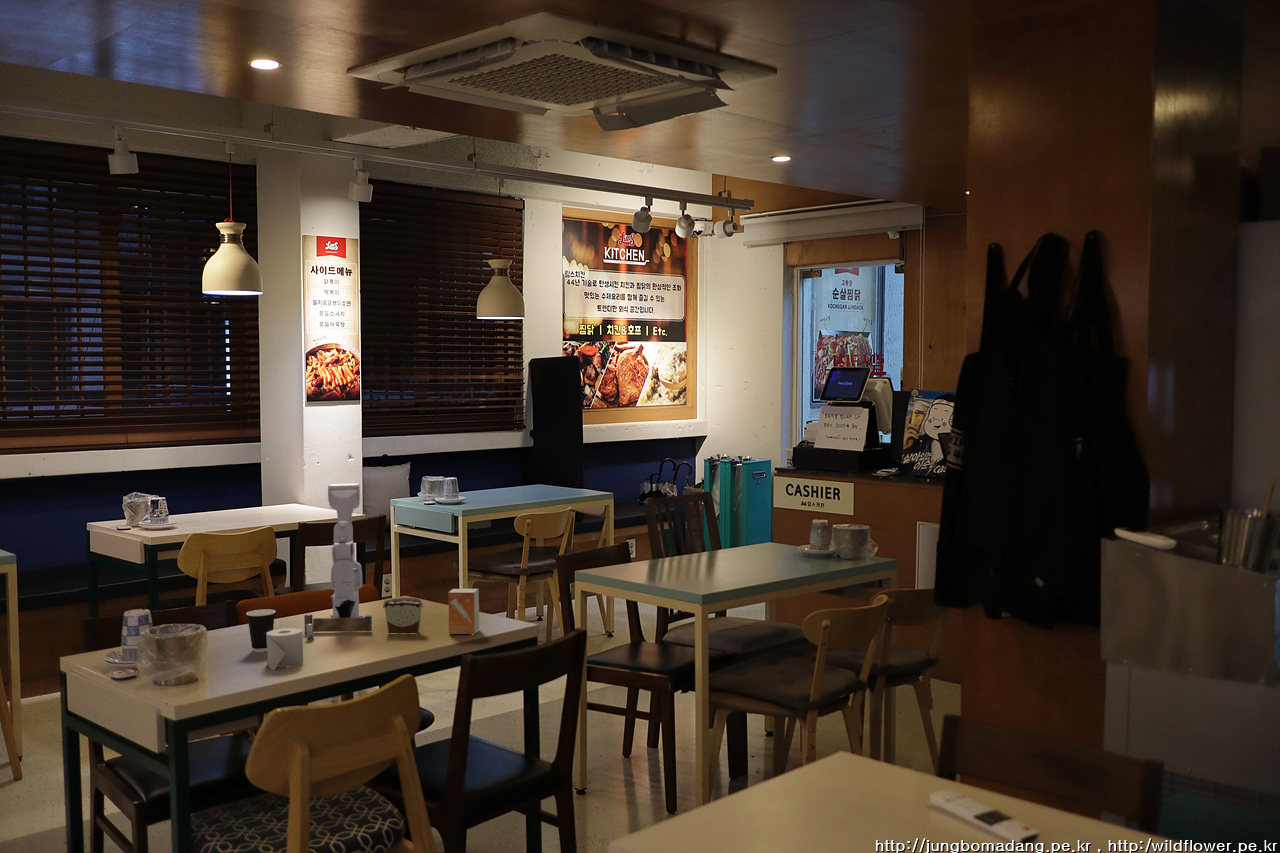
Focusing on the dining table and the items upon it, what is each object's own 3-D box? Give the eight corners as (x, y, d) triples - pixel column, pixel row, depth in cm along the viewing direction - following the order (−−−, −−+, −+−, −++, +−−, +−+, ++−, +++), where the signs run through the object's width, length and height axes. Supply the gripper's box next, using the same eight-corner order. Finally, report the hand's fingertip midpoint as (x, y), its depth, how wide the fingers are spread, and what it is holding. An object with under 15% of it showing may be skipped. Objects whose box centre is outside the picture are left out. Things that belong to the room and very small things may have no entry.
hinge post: (303, 632, 333) (303, 615, 333) (311, 631, 335) (310, 614, 334) (306, 634, 331) (305, 616, 331) (314, 633, 333) (313, 615, 333)
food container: (429, 629, 335) (428, 597, 335) (423, 634, 329) (422, 601, 328) (390, 629, 336) (389, 597, 336) (383, 634, 330) (382, 601, 330)
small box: (448, 635, 327) (447, 592, 326) (453, 630, 333) (452, 588, 332) (475, 635, 326) (474, 592, 326) (479, 630, 332) (478, 588, 332)
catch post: (305, 639, 325) (305, 624, 325) (312, 638, 326) (312, 623, 326) (308, 640, 323) (307, 625, 323) (314, 639, 324) (314, 624, 324)
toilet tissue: (270, 672, 287) (269, 640, 286) (266, 661, 299) (265, 630, 299) (306, 668, 290) (305, 636, 290) (300, 657, 303) (299, 626, 302)
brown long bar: (313, 631, 332) (312, 617, 332) (314, 630, 334) (314, 616, 334) (370, 631, 332) (370, 616, 332) (372, 629, 334) (371, 615, 333)
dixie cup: (250, 647, 315) (249, 610, 315) (278, 646, 317) (277, 608, 316) (245, 654, 307) (243, 615, 307) (274, 652, 309) (273, 614, 308)
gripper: (339, 577, 342) (341, 620, 342) (322, 585, 327) (323, 630, 328) (361, 577, 341) (363, 620, 341) (345, 585, 326) (346, 630, 327)
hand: (345, 625), depth 334 cm, fingers closed
